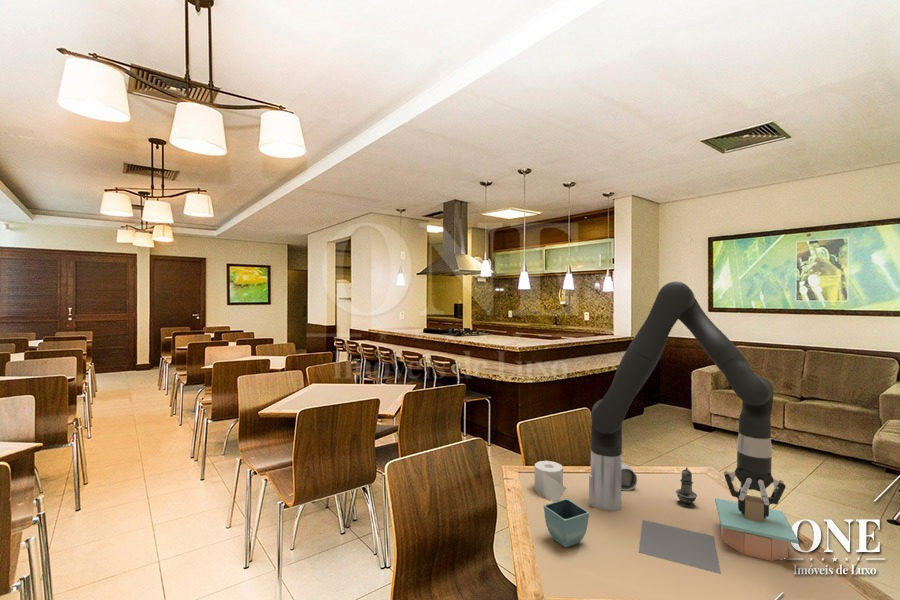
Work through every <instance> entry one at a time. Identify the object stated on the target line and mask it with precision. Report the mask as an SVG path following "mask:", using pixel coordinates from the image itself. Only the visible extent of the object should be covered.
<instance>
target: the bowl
mask: <svg viewBox="0 0 900 600" xmlns="http://www.w3.org/2000/svg"><path fill="white" fill-rule="evenodd" d="M720 534H721V538H722V542H723V543H725V544H726V545H728V546H730V547H731V548H733V549H734V550H736V551H738V552H740V553H741V554H743V555H745V556H750V557H754V558H758V559H762V560H767V561H770V562H772V561H776V560H780V559H784V558H787V557H788V555H789V542H787V541H782V540H778V539H773V538H769V537H764V536H760V535H755V534H750V533H746V532H741V531H737V530H732V529H728V528H723V527H721V526H720ZM788 558H789V557H788ZM788 558H787V559H788ZM784 560H785V559H784Z"/></svg>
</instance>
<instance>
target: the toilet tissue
mask: <svg viewBox="0 0 900 600" xmlns="http://www.w3.org/2000/svg"><path fill="white" fill-rule="evenodd" d="M534 488H535V489H534V492H535V491H536V492H537V493H538V494H537V493H536V492H535V493H536V494H537V495H539V494H540V495H539V496H541V497H542V496H543V497H542V498H544V497H545V498H544V499H546V498H547V499H546V500H548V499H549V500H548V501H551V500H552V502H557V501H559V500H560V498H561V496H562V495H563V494H564V492H565V491H566V489H567V487H566V486H565V485H564V467H563V465H562V464H560V463H558V462H555V461H550V460H540V461H537V462H536V463H534Z"/></svg>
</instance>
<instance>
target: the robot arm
mask: <svg viewBox="0 0 900 600" xmlns="http://www.w3.org/2000/svg"><path fill="white" fill-rule="evenodd" d="M678 320H679V321H680V322H681V323H682V324H683V325H684V326H685V327H686V329H687V330H689V331H690V333H691V334H692V335H693V337H694V339H696V341H697V342H698V344H699V345H700V347H701V348H702V350H703V351H704V353H705V354H706V355H707V356H708V357H709V358H710V360H711V362H713V363H714V365H715V366H716V367H717V368H718V369H719V370H720V372H721V373H722V374H723V376H724V377H725V378H726V380H727V382H728V384H729V386H730V387H731V388H732V389H731V390H732V391H733V392H734V393H735V394H736V395H737V397H738V398H739V399H740V400H741V402H742V406H741V407H742V409H741V411H740V413H739V418H738V435H737V436H738V437H737V442H736V443H737V446H736V447H737V448H736V449H737V451H736V468H735V470H734V471H731V472H728V471H727V470H726V471H724V472H723V476H724V479H725V482H726V483H727V484H726V485H727V486H728V489H729V493H730V495H731V496H732V497H733V498H737V502H738V509H739V511H741V513H742V514H745V500H744V498H745V496H746V495H748V491H750V490H751V491H753V490H754V491H756V492H760V493H759V494H760V496H761V499H762V501H763V503H764V518H765V519H766V517H768V516H769V509H770V505H778V504H779V501H780V500H781V497H782V496H783V493H784V492H785V489H786V484H785V483H784V481H783V480H781V479H780V480H777V479H775V478H774V477H773V475H772V458H773V457H772V455H773V445H772V438H771V436H772V421H771V418H772V417H771V415H772V410H773V403H774V387H773V385H772V383H771V381H769V380H768V379H767V378H765V377H763V376H759V375H756V374H755V372H754V371H753V370H752V369H751V368H750V366H749V362H748V360H747V358H746V357H745V356H744V354H743V353H742V352H741V351H740V350H739V349H738V347H737V346H736V345H735V344H734V343H733V342H732V341H731V340H730V339H729V337H727V335H726V334H724V333H723V332H722V331H721V329H719V328H718V326H716V324H714V323H713V321H711V319H710V318H709V316H708V315H707V314H706V313H705V312H704V310H703V309H702V307H701V306H700V303H699V301H698V300H697V298H696V296H695V294H694V292H693V290H692V289H691V288H690V287H689V286H688V285H687V284H685V283H683V282H681V281H670V282H667V283H666V284H665V285H663V286H662V287H661V288H660V290H659V291H658V293H657V296H656V297H655V300H654V303H653V305H652V306H651V309H650V312H649V314H648V316H647V318H646V319H645V321H644V323H643V324H642V326H641V327H640V328H639V330H638V331H637V332H636V334H635V336H634V338H632V341H631V342H630V344H629V345H628V347H627V349H626V351H625V352H624V354H623V356H622V357H621V359H620V362H619V364H618V367H617V369H616V372H615V374H614V377H613V380H612V382H611V384H610V387H609V389H608V390H607V392H606V393H605V395H604V396H603V398H602V399H599V400H598V401H596V402H594V404H593V406H592V407H591V412H590V413H591V415H590V419H591V420H590V421H591V433H590V473H589V476H588V477H589V478H588V479H589V481H588V483H589V484H588V506H589V507H592V508H596V509H598V510H600V511H604V512H605V511H606V512H617V511H618V510H619V511H620V509H621V508H622V490H621V472H622V463H623V462H622V458H623V457H622V456H623V442H622V441H623V437H622V436H623V435H622V434H623V429H622V427H623V422H624V419H625V418H626V415H627V413H628V410H629V408H630V406H631V404H632V402H633V400H634V399H635V398H636V396H637V395H638V393H639V392H640V391H641V390H642V388H643V386H644V385H645V383H646V382H647V380H648V379H649V377H650V376H651V374H652V373H653V371H654V370H655V368H656V367H657V365H658V362H659V361H660V359H661V357H662V355H663V352H664V349H665V347H666V343H667V341H668V338H669V336H670V332H671V331H672V329H673V328H674V326H675V324H676V323H677V322H678ZM735 478H737V479H738V481H739V483H740V485H739V488H738V490H736V489H735V487H734V484H733V482H734V481H735ZM772 484H773V488H774V489H773V491H772V493H771V495H770V496H768V493H767V490H766V489H767V488H768V487H769V486H770V485H772Z"/></svg>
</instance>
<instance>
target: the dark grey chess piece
mask: <svg viewBox="0 0 900 600" xmlns="http://www.w3.org/2000/svg"><path fill="white" fill-rule="evenodd" d="M692 475H693V473H692V471H690V470H689V468H688V467H686V468H685V469H683V470H682V471H681V479H680V480H679V481H680V482H681V483H680V484H681V485H680V486H681V488H680V489H679V488H678V489H677V490H675V491H676V492H675V493H676V494H677V495H676V496H677V497H678V499H679V500H676V501H677V502H676V504H677V505H679V506H680V507H681V508H685V509H695V508H696V507H697V506H696V504H695V503H694V502H696V500H697V499H696V498H697V497H698V494H697V493H696V492H694V491H693V484H694V482H693V477H692Z"/></svg>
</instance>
